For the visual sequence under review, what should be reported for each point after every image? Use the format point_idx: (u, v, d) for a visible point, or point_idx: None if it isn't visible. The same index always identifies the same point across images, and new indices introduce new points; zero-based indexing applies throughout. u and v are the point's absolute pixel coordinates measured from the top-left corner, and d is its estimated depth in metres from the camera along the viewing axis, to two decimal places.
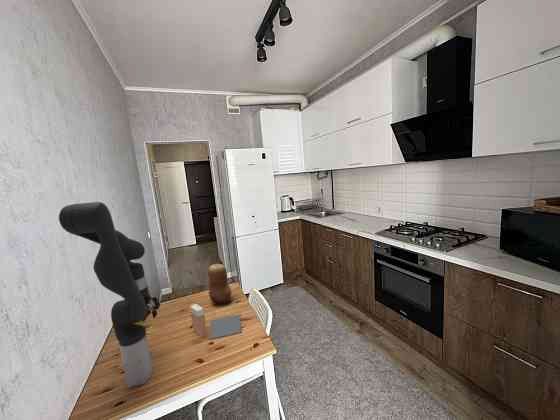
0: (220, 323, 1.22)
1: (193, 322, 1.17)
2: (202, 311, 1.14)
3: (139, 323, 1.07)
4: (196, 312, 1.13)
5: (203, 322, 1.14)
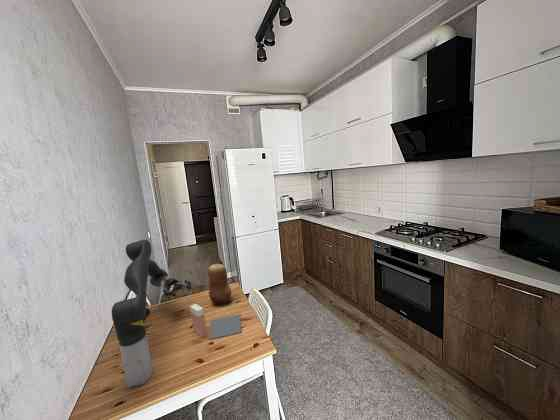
0: (220, 323, 1.22)
1: (193, 322, 1.17)
2: (202, 311, 1.14)
3: (139, 323, 1.07)
4: (196, 312, 1.13)
5: (203, 322, 1.14)
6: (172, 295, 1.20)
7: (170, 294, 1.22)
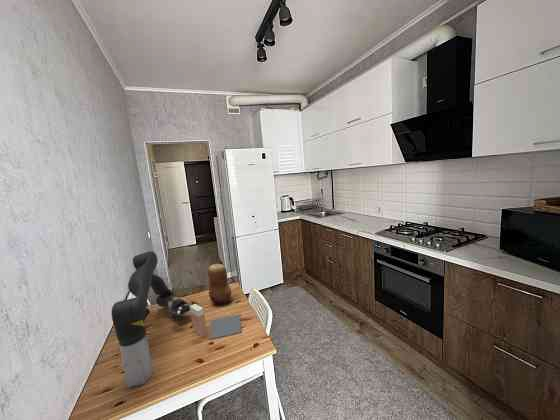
0: (220, 323, 1.22)
1: (193, 322, 1.17)
2: (202, 311, 1.14)
3: (139, 323, 1.07)
4: (196, 312, 1.13)
5: (203, 322, 1.14)
6: (180, 318, 1.18)
7: (178, 317, 1.19)
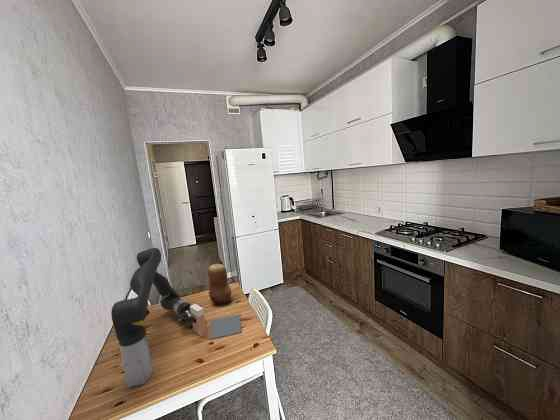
0: (220, 323, 1.22)
1: None
2: (202, 311, 1.14)
3: (139, 323, 1.07)
4: (196, 312, 1.13)
5: (203, 322, 1.14)
6: (192, 321, 1.14)
7: (190, 320, 1.16)
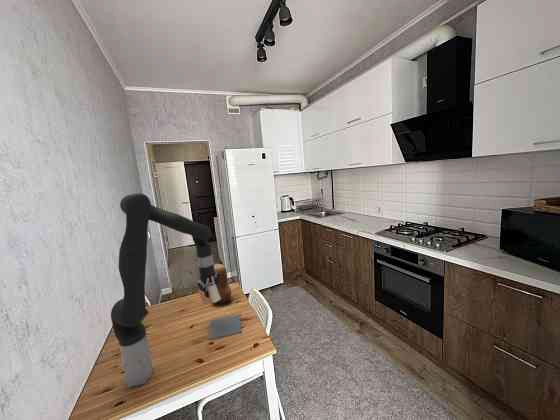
0: (220, 323, 1.22)
1: None
2: None
3: None
4: (213, 298, 1.13)
5: None
6: (205, 296, 1.15)
7: (204, 291, 1.15)
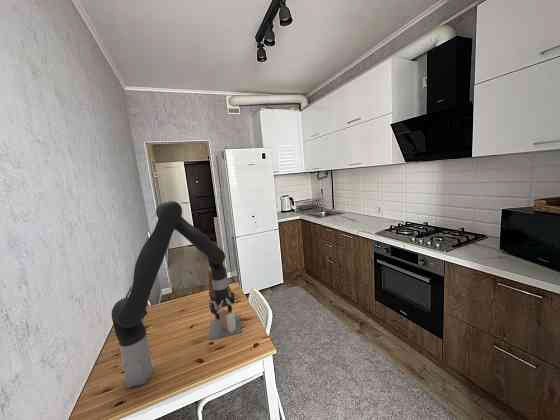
0: None
1: (220, 314, 1.19)
2: None
3: None
4: (229, 327, 1.15)
5: None
6: (216, 318, 1.16)
7: (215, 313, 1.15)
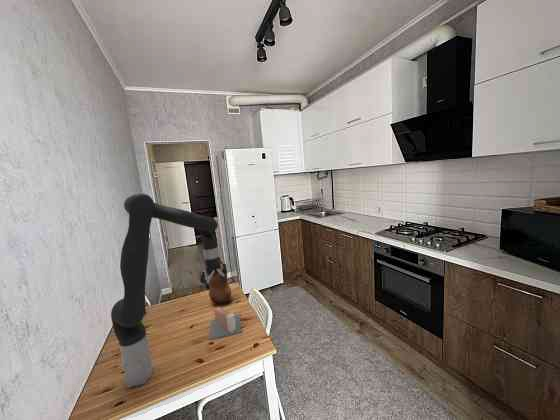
0: None
1: (220, 314, 1.19)
2: None
3: None
4: (229, 327, 1.15)
5: None
6: None
7: (205, 283, 1.13)
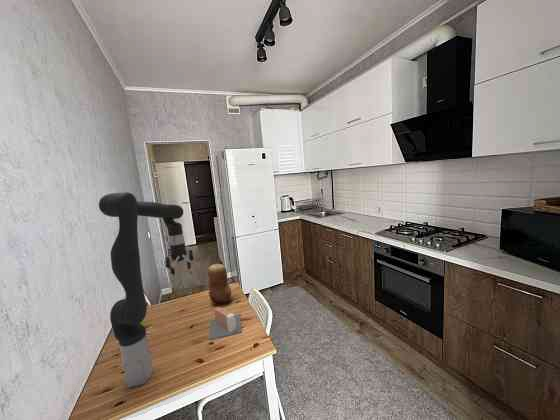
0: None
1: (220, 314, 1.19)
2: None
3: (139, 323, 1.07)
4: (229, 327, 1.15)
5: None
6: (171, 273, 1.19)
7: (170, 268, 1.18)
